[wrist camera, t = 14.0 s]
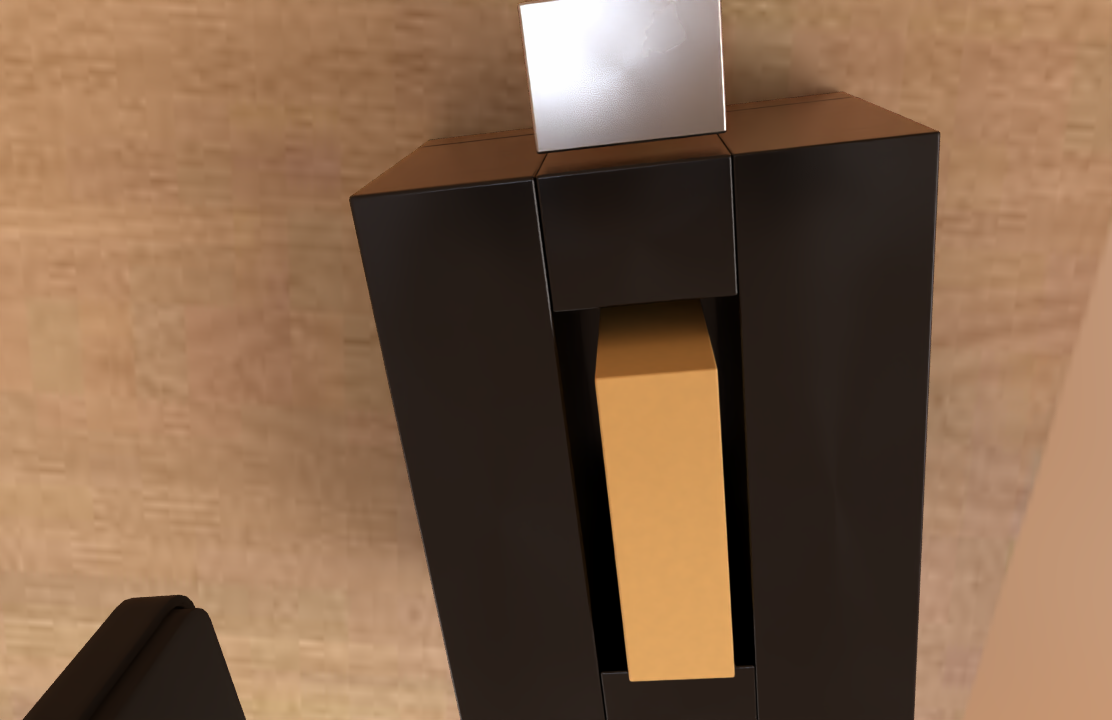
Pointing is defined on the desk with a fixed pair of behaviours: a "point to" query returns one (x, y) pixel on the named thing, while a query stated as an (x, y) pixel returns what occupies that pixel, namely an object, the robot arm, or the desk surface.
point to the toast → (666, 489)
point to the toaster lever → (622, 71)
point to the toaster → (744, 397)
